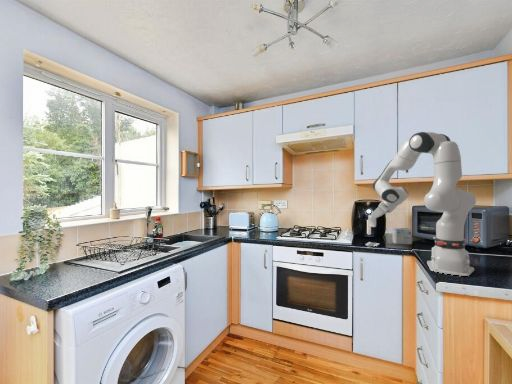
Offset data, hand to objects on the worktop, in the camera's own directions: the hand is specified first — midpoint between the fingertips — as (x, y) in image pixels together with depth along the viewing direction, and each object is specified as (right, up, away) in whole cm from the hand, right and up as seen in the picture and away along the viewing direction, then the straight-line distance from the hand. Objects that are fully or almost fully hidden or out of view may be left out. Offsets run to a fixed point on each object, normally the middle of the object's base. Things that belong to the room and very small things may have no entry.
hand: (371, 219), depth 173 cm
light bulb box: (+24, -17, +3) cm, 29 cm away
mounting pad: (+1, -18, 0) cm, 18 cm away
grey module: (+1, -5, 0) cm, 5 cm away
